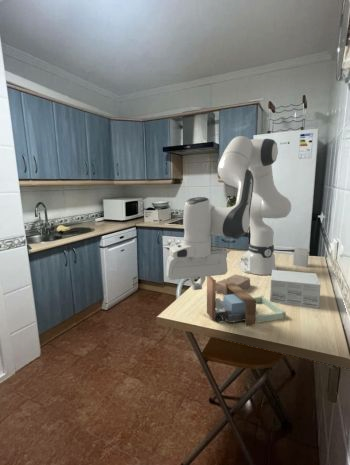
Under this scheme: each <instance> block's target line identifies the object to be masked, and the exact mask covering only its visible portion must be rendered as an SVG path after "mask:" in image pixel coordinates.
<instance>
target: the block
mask: <svg viewBox="0 0 350 465" xmlns="http://www.w3.org/2000/svg"><path fill="white" fill-rule="evenodd" d="M222 295H223V296H222V298H223V299H222V301H223V303H224V304H225V305H226V306H227V307H228V308H229V309H230V310H231V315H232V314H239V313H245V310H246V303H245V302H244V301H243V300H242V299H241V298H240V297H238V296H237V295H236V294H230V295H224V294H222Z"/></svg>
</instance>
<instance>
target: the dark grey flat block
mask: <svg viewBox="0 0 350 465" xmlns="http://www.w3.org/2000/svg"><path fill="white" fill-rule="evenodd" d="M213 320H214V321H215V322H216V323H220V322H225V321H226V319H225V318H224V317H223V316H217V317H215V319H213Z"/></svg>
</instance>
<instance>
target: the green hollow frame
mask: <svg viewBox="0 0 350 465" xmlns="http://www.w3.org/2000/svg"><path fill="white" fill-rule="evenodd" d="M252 297H253V298H254V299H255V300H256V304H257V303H262V304H263V305H265V306H266V307H267V308H268V309H270V310H271V311H272V312H269V313H268V312H267V313H261V314H256V320H255V323H261V322H268V321H275V320H280V319H281V320H282V319H286V314H287V312H286V311H284V310H283V309H281V308H280V307H279V306H277V305H276V304H275V303H274V302H270V299H267V298H266V297H265V296H264V295H258V296H252Z"/></svg>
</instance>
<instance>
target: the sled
mask: <svg viewBox="0 0 350 465" xmlns="http://www.w3.org/2000/svg"><path fill="white" fill-rule="evenodd" d="M216 282H217V281H216V279H214V278H213V276H206V313H207V315H208V316H209V318H210V319H211V320H214V319H215V317H217V316H221V317H222V318H223V319H224V320H225V321H227V323H231V322H239V321H245V313H239V314H232V315H231V310H230V309H229V308H228V307H227V306H226V305H225V304H224V303H223V300H221V299H220V298H216V297H217V296H216V295H217V292H216Z"/></svg>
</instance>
